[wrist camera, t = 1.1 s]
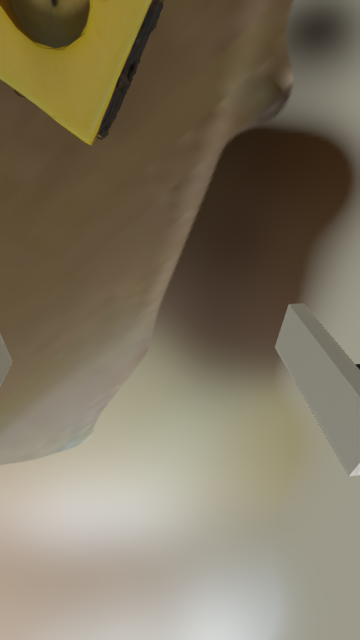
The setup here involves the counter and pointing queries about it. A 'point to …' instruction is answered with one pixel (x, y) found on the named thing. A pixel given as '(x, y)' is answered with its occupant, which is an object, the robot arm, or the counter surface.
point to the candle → (75, 56)
